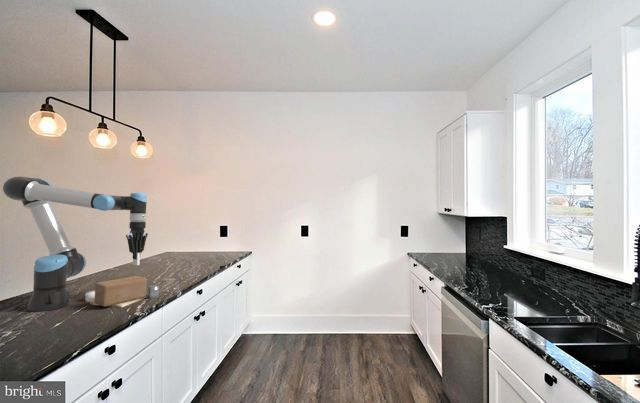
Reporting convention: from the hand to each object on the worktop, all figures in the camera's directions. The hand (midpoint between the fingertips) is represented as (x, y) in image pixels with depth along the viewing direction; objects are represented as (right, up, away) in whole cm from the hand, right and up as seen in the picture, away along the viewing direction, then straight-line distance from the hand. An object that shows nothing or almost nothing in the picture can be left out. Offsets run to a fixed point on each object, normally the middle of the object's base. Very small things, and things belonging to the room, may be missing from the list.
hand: (136, 264), depth 163 cm
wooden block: (+5, -11, -3) cm, 12 cm away
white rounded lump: (-16, -16, -10) cm, 25 cm away
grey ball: (+11, -17, -4) cm, 20 cm away
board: (-2, -16, -10) cm, 19 cm away
